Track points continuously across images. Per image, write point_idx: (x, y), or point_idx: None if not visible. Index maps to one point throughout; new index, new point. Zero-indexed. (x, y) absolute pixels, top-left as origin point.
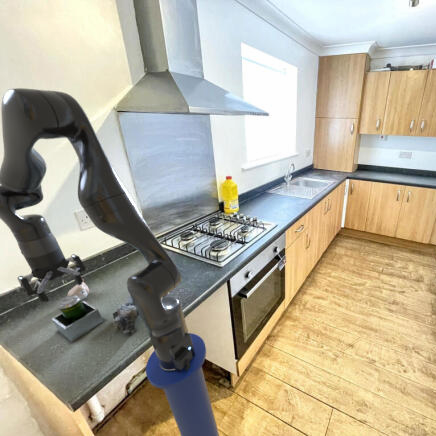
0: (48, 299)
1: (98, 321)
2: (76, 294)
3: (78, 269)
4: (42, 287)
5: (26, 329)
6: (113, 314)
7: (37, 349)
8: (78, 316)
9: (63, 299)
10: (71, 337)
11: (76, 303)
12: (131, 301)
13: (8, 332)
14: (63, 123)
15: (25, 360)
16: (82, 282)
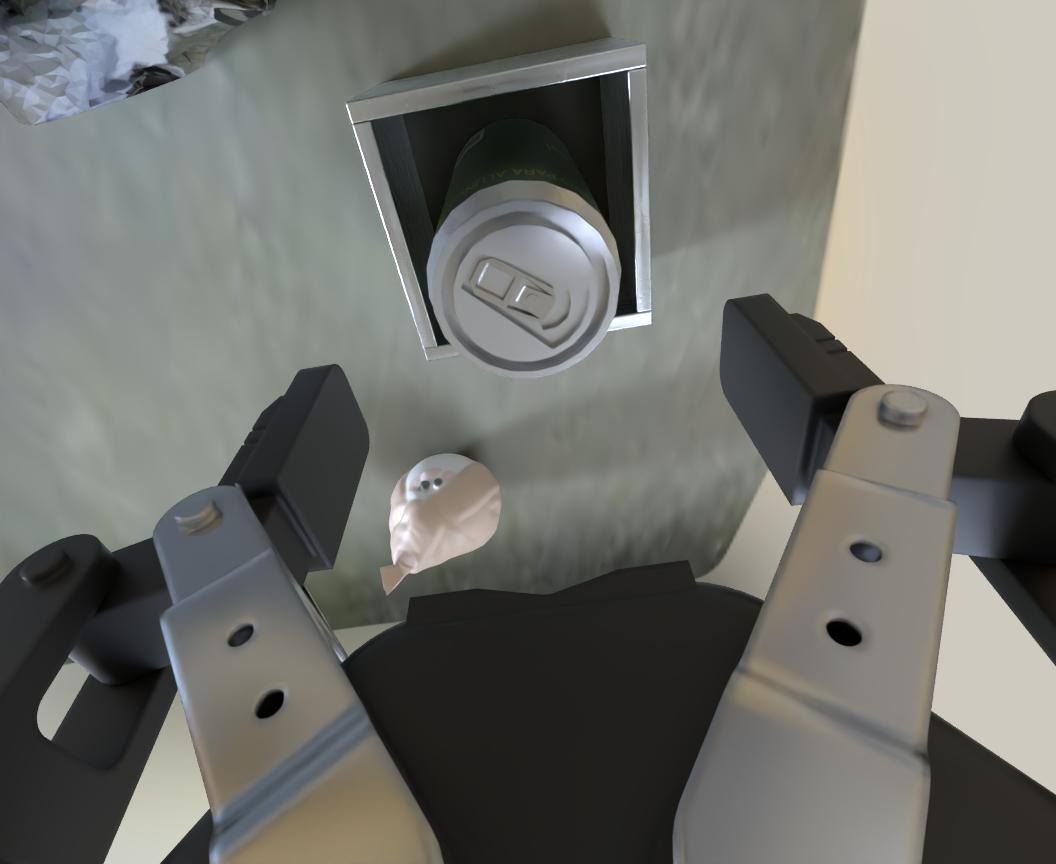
0: (738, 303)
1: (405, 79)
2: (457, 489)
3: (143, 614)
4: (872, 465)
5: (710, 430)
6: (267, 13)
7: (761, 193)
8: (509, 143)
9: (554, 354)
10: (612, 40)
11: (473, 192)
12: (60, 28)
13: (758, 469)
14: None
15: (841, 141)
16: (396, 559)
